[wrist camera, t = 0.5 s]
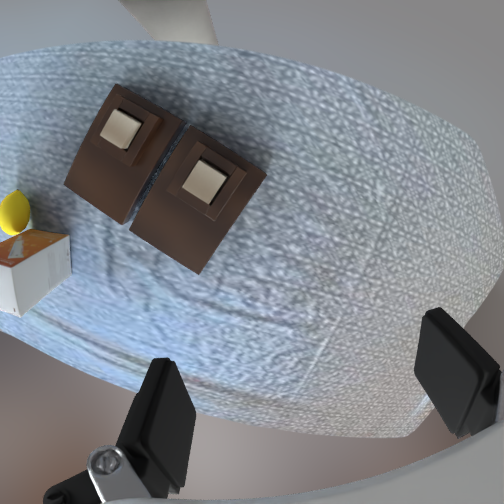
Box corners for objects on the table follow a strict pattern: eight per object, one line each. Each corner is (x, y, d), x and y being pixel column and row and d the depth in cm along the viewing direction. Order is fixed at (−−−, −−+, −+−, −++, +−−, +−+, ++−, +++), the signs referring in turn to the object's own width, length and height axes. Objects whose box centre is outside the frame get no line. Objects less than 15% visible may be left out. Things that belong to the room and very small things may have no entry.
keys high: (193, 126, 31) (186, 123, 27) (266, 173, 33) (268, 175, 29) (135, 225, 35) (122, 233, 31) (201, 268, 37) (196, 281, 33)
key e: (201, 159, 29) (199, 159, 27) (227, 176, 30) (226, 177, 28) (185, 185, 30) (181, 187, 28) (210, 201, 31) (208, 204, 29)
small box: (70, 233, 35) (11, 267, 23) (72, 275, 37) (21, 319, 25) (30, 227, 34) (-29, 255, 22) (33, 266, 36) (-19, 303, 24)
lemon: (32, 237, 35) (11, 248, 30) (11, 222, 34) (-11, 232, 29) (41, 193, 33) (18, 200, 28) (19, 181, 32) (-5, 186, 27)
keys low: (122, 86, 29) (109, 80, 25) (186, 122, 31) (178, 118, 27) (72, 182, 33) (55, 186, 29) (128, 221, 35) (115, 229, 31)
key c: (120, 110, 27) (114, 108, 25) (142, 123, 28) (136, 121, 26) (106, 135, 28) (99, 135, 26) (127, 148, 28) (121, 148, 27)
